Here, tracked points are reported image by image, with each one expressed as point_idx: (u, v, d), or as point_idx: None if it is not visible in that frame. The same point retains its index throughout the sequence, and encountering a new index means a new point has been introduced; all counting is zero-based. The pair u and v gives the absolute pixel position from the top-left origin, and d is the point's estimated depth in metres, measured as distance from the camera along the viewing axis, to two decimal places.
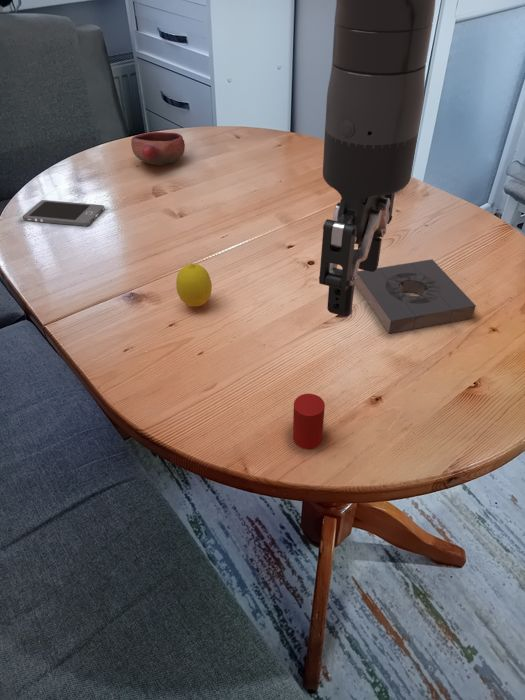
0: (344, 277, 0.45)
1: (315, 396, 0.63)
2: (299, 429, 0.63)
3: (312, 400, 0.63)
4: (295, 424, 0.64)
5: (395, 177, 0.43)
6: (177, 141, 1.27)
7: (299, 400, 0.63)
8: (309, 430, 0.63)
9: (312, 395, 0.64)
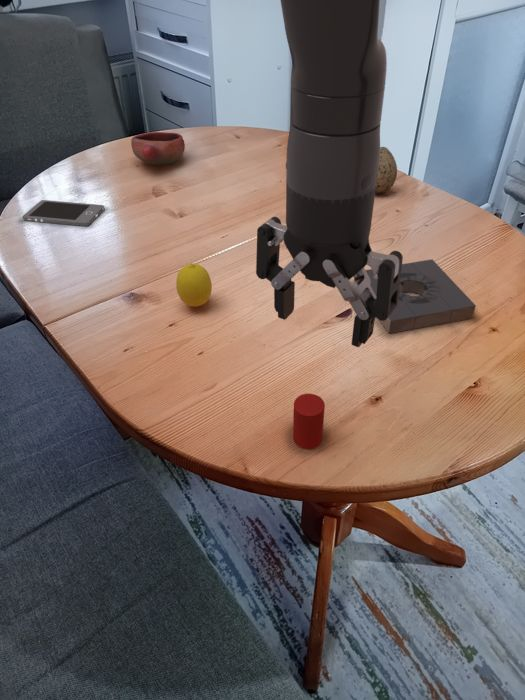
0: (397, 296, 0.49)
1: (315, 396, 0.63)
2: (299, 429, 0.63)
3: (312, 400, 0.63)
4: (295, 424, 0.64)
5: None
6: (177, 141, 1.27)
7: (299, 400, 0.63)
8: (309, 430, 0.63)
9: (312, 395, 0.64)
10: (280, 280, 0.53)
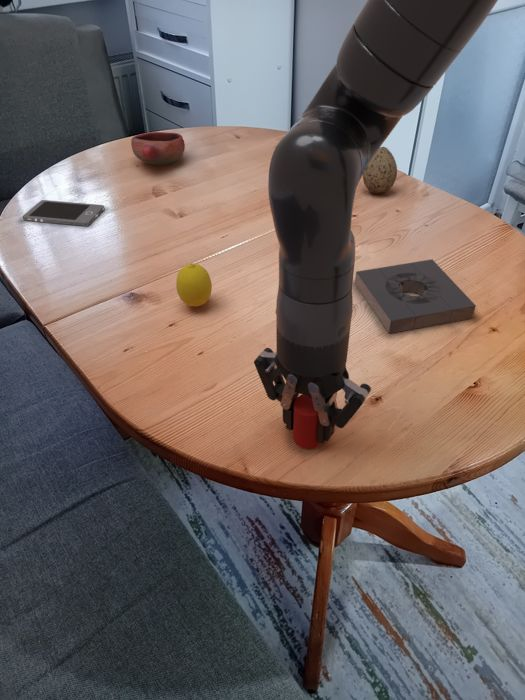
0: None
1: None
2: (299, 429, 0.63)
3: (312, 400, 0.63)
4: (295, 424, 0.64)
5: None
6: (177, 141, 1.27)
7: (299, 400, 0.63)
8: (309, 430, 0.63)
9: None
10: (286, 401, 0.62)
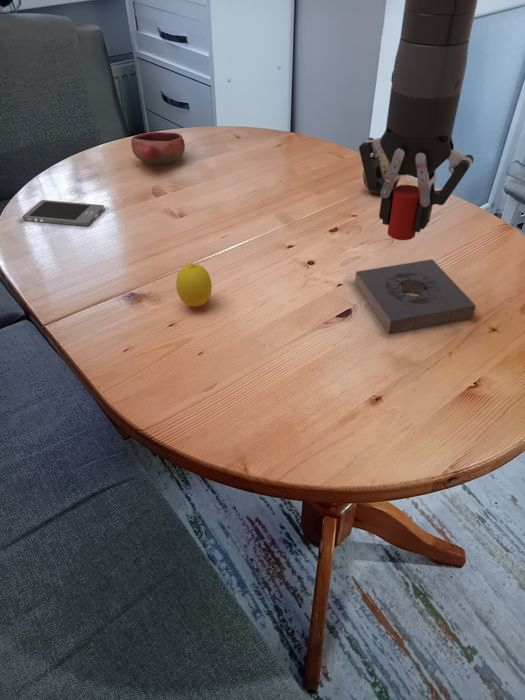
0: None
1: (412, 186, 0.68)
2: (398, 216, 0.68)
3: (410, 188, 0.68)
4: (394, 212, 0.68)
5: None
6: (177, 141, 1.27)
7: (398, 188, 0.68)
8: (408, 215, 0.68)
9: (409, 185, 0.68)
10: (387, 188, 0.67)
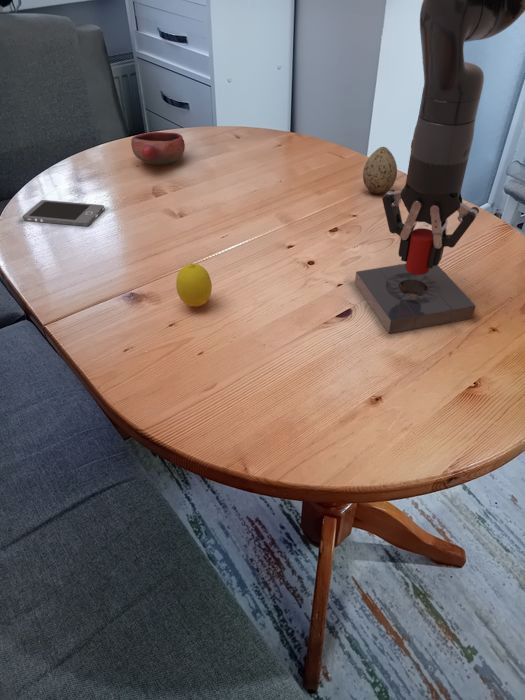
0: None
1: (427, 229, 0.81)
2: (414, 255, 0.80)
3: (425, 232, 0.80)
4: (411, 252, 0.81)
5: None
6: (177, 141, 1.27)
7: (415, 232, 0.80)
8: (423, 254, 0.80)
9: (425, 229, 0.81)
10: (406, 231, 0.80)
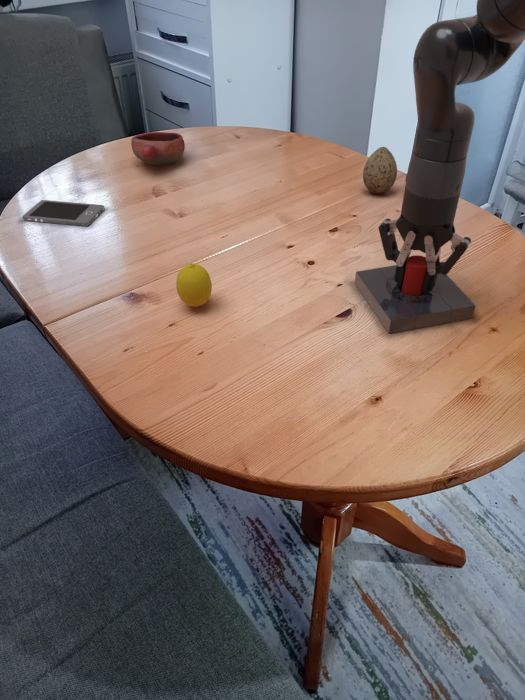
0: None
1: (422, 256, 0.84)
2: (410, 281, 0.84)
3: (420, 259, 0.83)
4: (406, 278, 0.84)
5: None
6: (177, 141, 1.27)
7: (410, 259, 0.83)
8: (418, 281, 0.83)
9: (419, 256, 0.84)
10: (401, 259, 0.83)
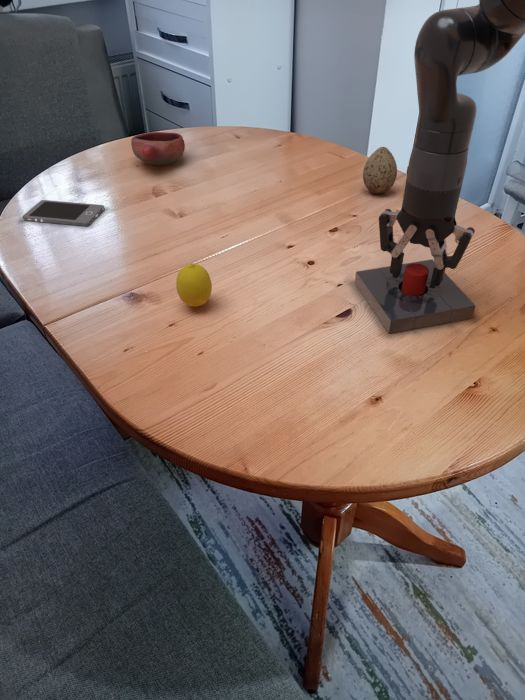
0: (462, 255, 0.79)
1: (420, 264, 0.84)
2: (408, 289, 0.84)
3: (419, 267, 0.84)
4: (405, 286, 0.85)
5: None
6: (177, 141, 1.27)
7: (409, 267, 0.84)
8: (417, 288, 0.84)
9: (418, 264, 0.85)
10: (397, 250, 0.82)
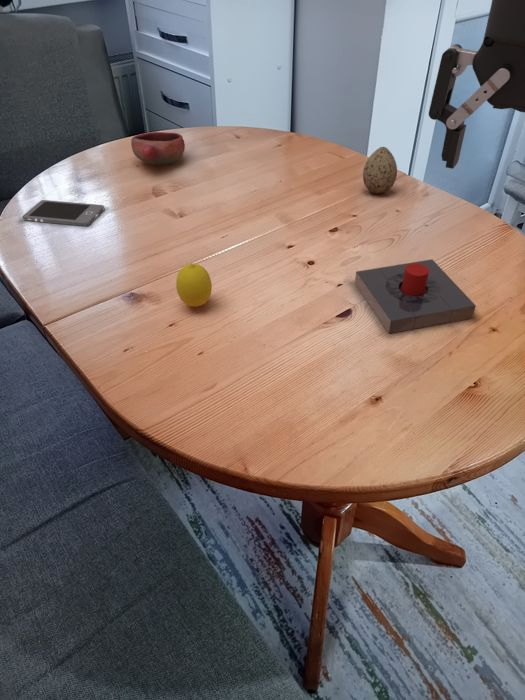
0: None
1: (420, 264, 0.84)
2: (408, 289, 0.84)
3: (419, 267, 0.84)
4: (405, 286, 0.85)
5: None
6: (177, 141, 1.27)
7: (409, 267, 0.84)
8: (417, 288, 0.84)
9: (418, 264, 0.85)
10: (459, 116, 0.50)
